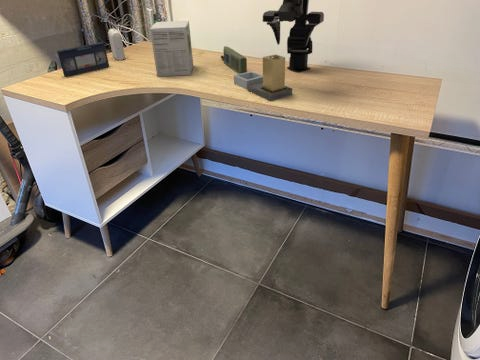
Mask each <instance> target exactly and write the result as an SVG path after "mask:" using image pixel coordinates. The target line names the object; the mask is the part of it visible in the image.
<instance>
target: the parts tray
mask: <svg viewBox="0 0 480 360" xmlns="http://www.w3.org/2000/svg"><path fill="white" fill-rule="evenodd" d="M259 82H263V74H261V73H259V72H256V71H254V70H250V71H247V72H246V73H242V74H238V73H237V74H234V75H233V83H235V84H234V85H236V84H237V85H236V86H238V85H239V86H238V87H240V86H241V87H240V88H242V87H243V88H242V89H245V90H248V85H251V84H255V83H259Z"/></svg>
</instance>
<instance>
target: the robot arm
mask: <svg viewBox="0 0 480 360" xmlns="http://www.w3.org/2000/svg"><path fill="white" fill-rule="evenodd" d="M309 2H310V0H282V3H281V5H280V7H279V8H278V10H267V11H265V12H263V14H262V22H263V23H266V25H267V26H270V28H271V30H272V33H273V34H274V39H275V42H276V44H277V45H278V46H279V45H280V42H281V22H289V23H292V22H294V24H293V26H292V27H290V29H289V35H288V36H287V41H286V46H287V47H286V49H287V50H286V51H287V55H289V56H290V57H289V63H288V64H289V65H288V66H287V68H286V69H288V70H291V71H294V72H297V73H300V72H304V71H306V70H310V69H311V67H310V66H308V60H309V59H308V58H309V55H311V54H313V40H312V37H311V36H312V33H313V31H314V28H315V27H317V26H318V25H320V24H322V23H323V22H324V20H325V14H324V12H323V11H309ZM308 11H309V13H308Z"/></svg>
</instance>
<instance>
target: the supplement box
mask: <svg viewBox="0 0 480 360" xmlns="http://www.w3.org/2000/svg"><path fill="white" fill-rule="evenodd" d="M149 33H150V38H151V44H152V51H153V52H152V53H153V57H154V64H155V65H154V66H155V70H156V76H157V77H168V76H169V77H170V76H190V75H191V73H192V70H193V68H194V58H193V57H194V56H193V50H192V49H193V48H192V38H191V30H190V20H175V21H173V20H171V21H156V22H155V23H154V24H152V26H151V27H150V28H149Z"/></svg>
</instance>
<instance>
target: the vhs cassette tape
mask: <svg viewBox="0 0 480 360" xmlns="http://www.w3.org/2000/svg"><path fill="white" fill-rule="evenodd" d="M56 53H57V56H58V59H59V63H60V66H61V69H62V74H63V75H64V77H66V78H69V77H73V76H79V75H82V74H86V73H87V74H88V73H92V72H95V71H99V70H104V69H107V68H110V63H109V58H108V54H107V50H106V46H105V43H104V42H96V43H91V44H85V45H79V46H75V47H70V48H64V49H61V50H57V51H56Z"/></svg>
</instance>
